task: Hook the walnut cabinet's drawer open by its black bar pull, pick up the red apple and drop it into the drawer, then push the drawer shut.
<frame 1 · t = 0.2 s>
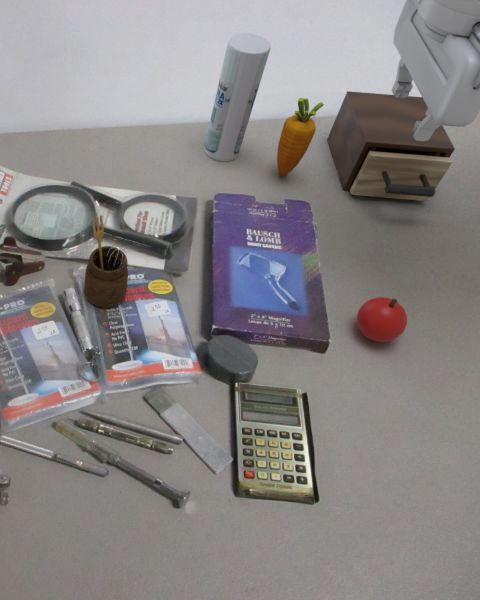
hand: (408, 115, 75), 23 cm above the table, tool pointing down, fingers open, 8 cm apart
utensil holder: (104, 293, 84), on the table
apple: (372, 333, 81), on the table
cabinet: (373, 166, 105), on the table
drawer: (393, 162, 98), point 5 cm above the table, slide at 1.0 cm
spray can: (220, 151, 107), on the table
carrot: (281, 177, 103), on the table
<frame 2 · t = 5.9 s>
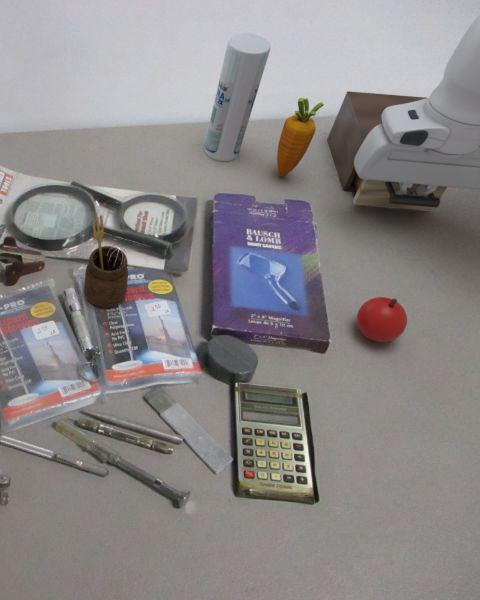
hand: (405, 201, 93), 4 cm above the table, tool pointing down, fingers closed
drawer: (397, 171, 97), point 5 cm above the table, slide at 3.5 cm
everything else where it was.
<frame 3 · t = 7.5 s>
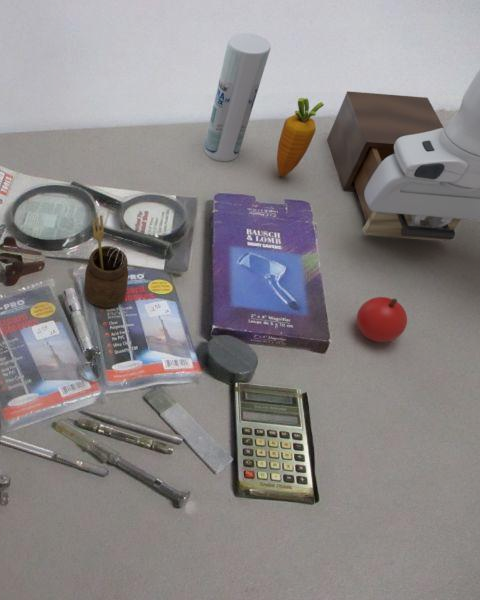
hand: (418, 233, 88), 4 cm above the table, tool pointing down, fingers closed, pressing on drawer
drawer: (408, 199, 92), point 5 cm above the table, slide at 10.6 cm, touching gripper
everything else where it was.
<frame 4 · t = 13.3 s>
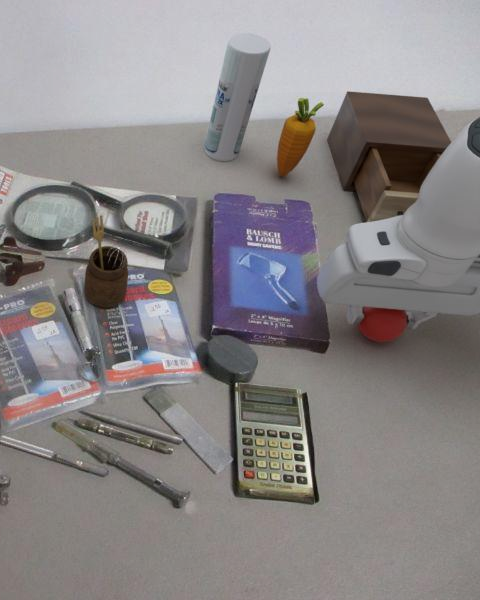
hand: (379, 322, 79), 2 cm above the table, tool pointing down, fingers closed on apple, 6 cm apart
apple: (372, 333, 81), on the table, touching gripper
drawer: (408, 199, 92), point 5 cm above the table, slide at 10.6 cm
everything else where it was.
when the fingers open (10 cm above the table, at t = 20.4 s): apple drops 6 cm, resting on drawer.
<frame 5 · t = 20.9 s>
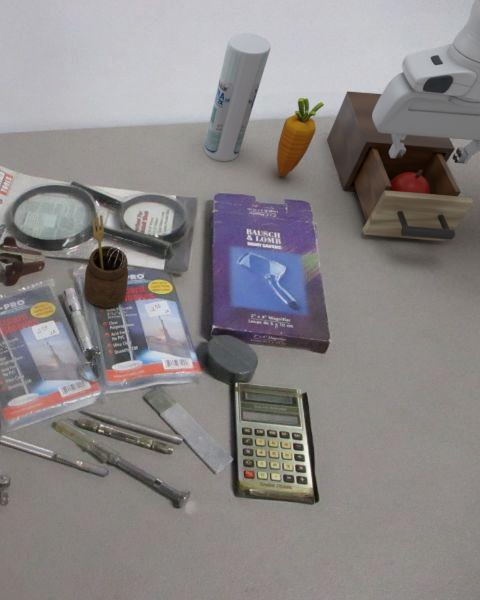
hand: (426, 158, 88), 11 cm above the table, tool pointing down, fingers open, 8 cm apart
apple: (398, 206, 95), point 2 cm above the table, touching drawer
drawer: (408, 199, 92), point 5 cm above the table, slide at 10.6 cm, touching apple
everything else where it was.
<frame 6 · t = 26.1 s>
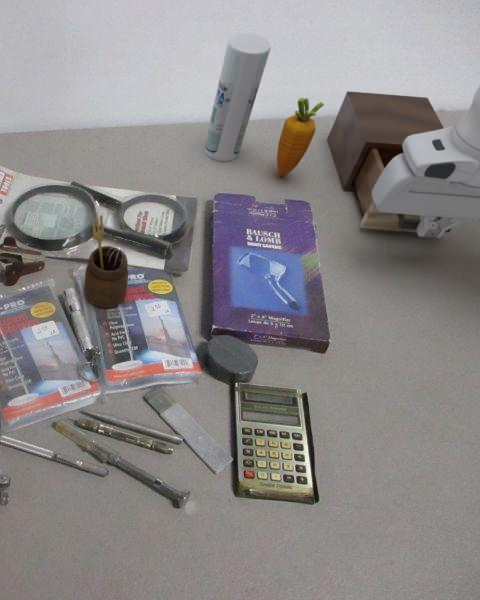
hand: (427, 234, 86), 6 cm above the table, tool pointing down, fingers closed, pressing on drawer
apple: (397, 197, 96), point 3 cm above the table, tilted 35°, touching drawer
drawer: (406, 193, 93), point 5 cm above the table, slide at 9.0 cm, touching apple, gripper
everything else where it was.
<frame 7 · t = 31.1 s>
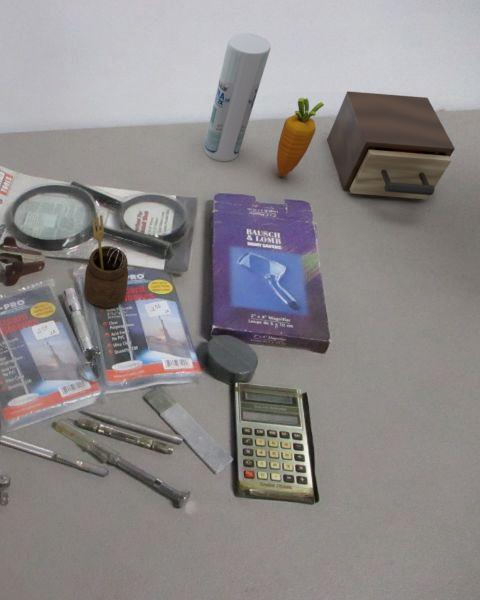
apple: (385, 165, 101), point 3 cm above the table, tilted 37°, touching drawer
drawer: (392, 160, 99), point 5 cm above the table, slide at 0.6 cm, touching apple
everything else where it was.
at the end: drawer pulled out 10.6 cm at the most during the clip, back to 0.6 cm at the end; apple inside the target area in the cabinet (3.2 cm from its centre), point 2.7 cm above the cabinet's base; drawer slide at 0.6 cm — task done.
